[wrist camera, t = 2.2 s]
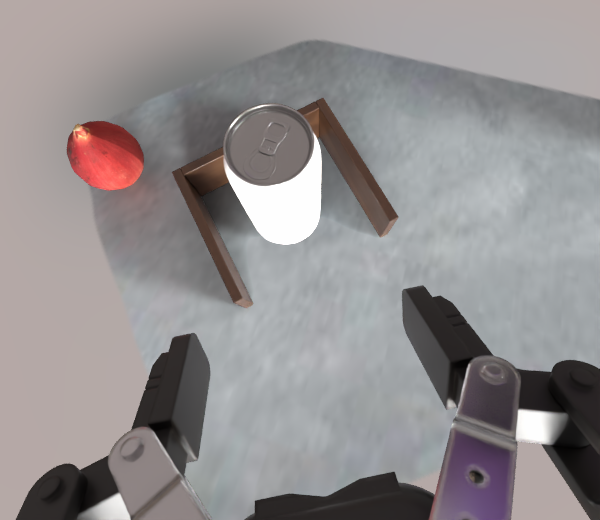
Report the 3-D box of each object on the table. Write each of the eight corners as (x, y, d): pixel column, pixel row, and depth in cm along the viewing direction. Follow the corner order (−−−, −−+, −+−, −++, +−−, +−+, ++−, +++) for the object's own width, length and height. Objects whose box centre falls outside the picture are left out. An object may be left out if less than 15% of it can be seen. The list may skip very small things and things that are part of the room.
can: (241, 231, 32) (198, 171, 21) (268, 172, 34) (242, 84, 22) (305, 256, 31) (297, 208, 20) (330, 194, 33) (337, 115, 21)
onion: (111, 212, 33) (49, 175, 26) (93, 165, 35) (29, 115, 27) (166, 187, 34) (121, 142, 26) (146, 140, 35) (97, 84, 27)
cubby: (322, 127, 34) (323, 96, 30) (387, 233, 32) (398, 217, 27) (190, 193, 33) (171, 171, 29) (245, 308, 31) (233, 303, 26)
